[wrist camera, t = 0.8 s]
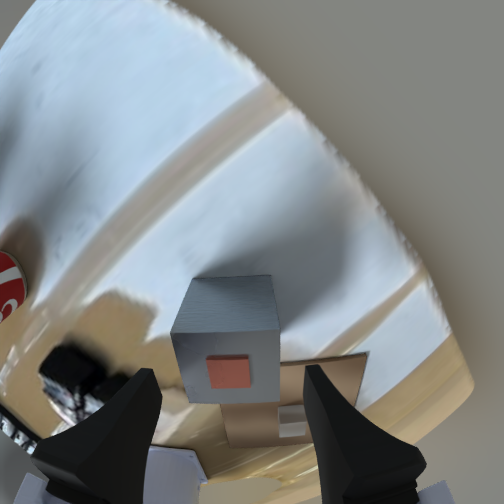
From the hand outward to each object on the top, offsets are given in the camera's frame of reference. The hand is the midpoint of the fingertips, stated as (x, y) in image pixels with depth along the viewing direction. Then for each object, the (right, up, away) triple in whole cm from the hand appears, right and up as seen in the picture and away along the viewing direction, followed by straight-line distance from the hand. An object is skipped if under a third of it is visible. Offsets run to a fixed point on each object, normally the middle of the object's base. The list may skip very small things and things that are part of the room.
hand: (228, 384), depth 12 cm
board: (+4, -8, +11) cm, 14 cm away
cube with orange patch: (0, +2, +7) cm, 7 cm away
